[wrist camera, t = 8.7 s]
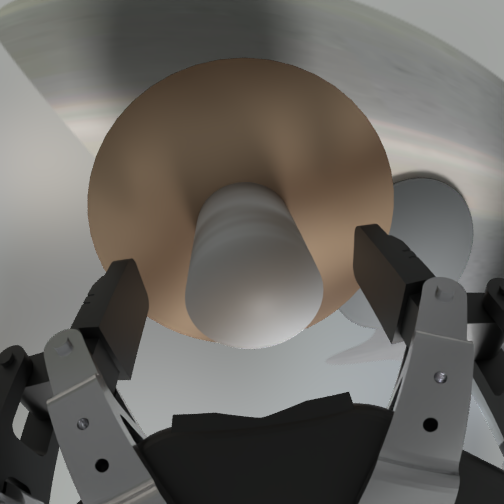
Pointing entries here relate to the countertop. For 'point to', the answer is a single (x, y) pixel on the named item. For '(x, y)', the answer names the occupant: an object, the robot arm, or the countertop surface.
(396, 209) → the rubber mat
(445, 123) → the countertop surface
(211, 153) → the walnut lid
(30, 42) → the countertop surface
